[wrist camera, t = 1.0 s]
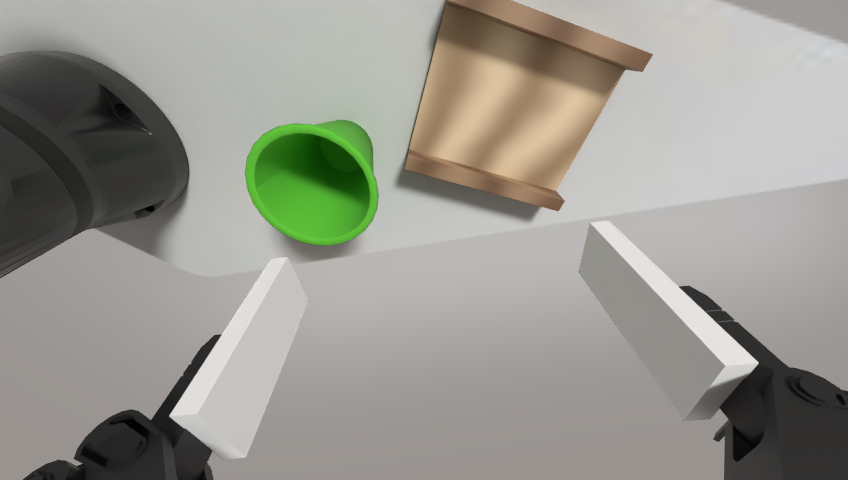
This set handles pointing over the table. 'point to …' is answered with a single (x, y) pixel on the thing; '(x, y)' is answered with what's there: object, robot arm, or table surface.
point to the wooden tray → (513, 98)
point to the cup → (314, 181)
